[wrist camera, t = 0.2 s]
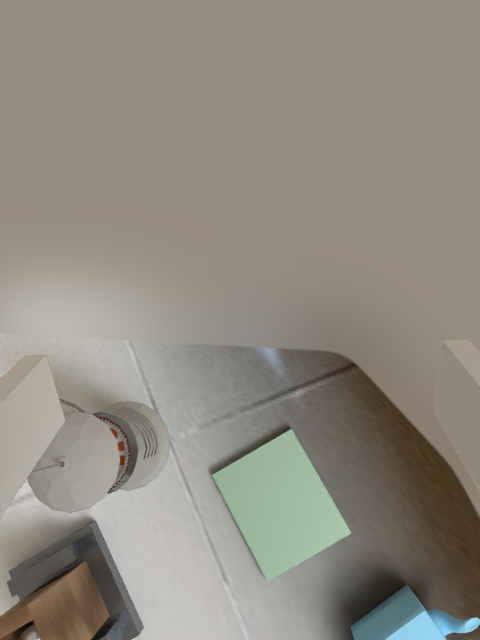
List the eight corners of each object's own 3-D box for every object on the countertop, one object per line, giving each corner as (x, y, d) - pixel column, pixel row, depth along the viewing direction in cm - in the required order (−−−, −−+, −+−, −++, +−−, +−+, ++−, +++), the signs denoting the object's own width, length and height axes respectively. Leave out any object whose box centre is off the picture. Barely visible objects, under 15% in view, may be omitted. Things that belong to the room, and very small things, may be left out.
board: (349, 530, 46) (351, 533, 45) (267, 578, 46) (267, 582, 45) (291, 428, 49) (291, 428, 48) (213, 473, 49) (212, 475, 48)
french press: (128, 509, 49) (-25, 619, 24) (58, 437, 51) (-146, 470, 26) (187, 442, 49) (98, 481, 25) (116, 373, 52) (-30, 348, 27)
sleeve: (109, 615, 45) (68, 667, 37) (59, 645, 45) (6, 704, 37) (85, 560, 47) (40, 597, 38) (36, 588, 47) (-21, 632, 38)
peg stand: (143, 627, 46) (109, 684, 37) (61, 675, 46) (6, 744, 37) (95, 520, 49) (52, 548, 39) (16, 566, 49) (-46, 605, 39)
